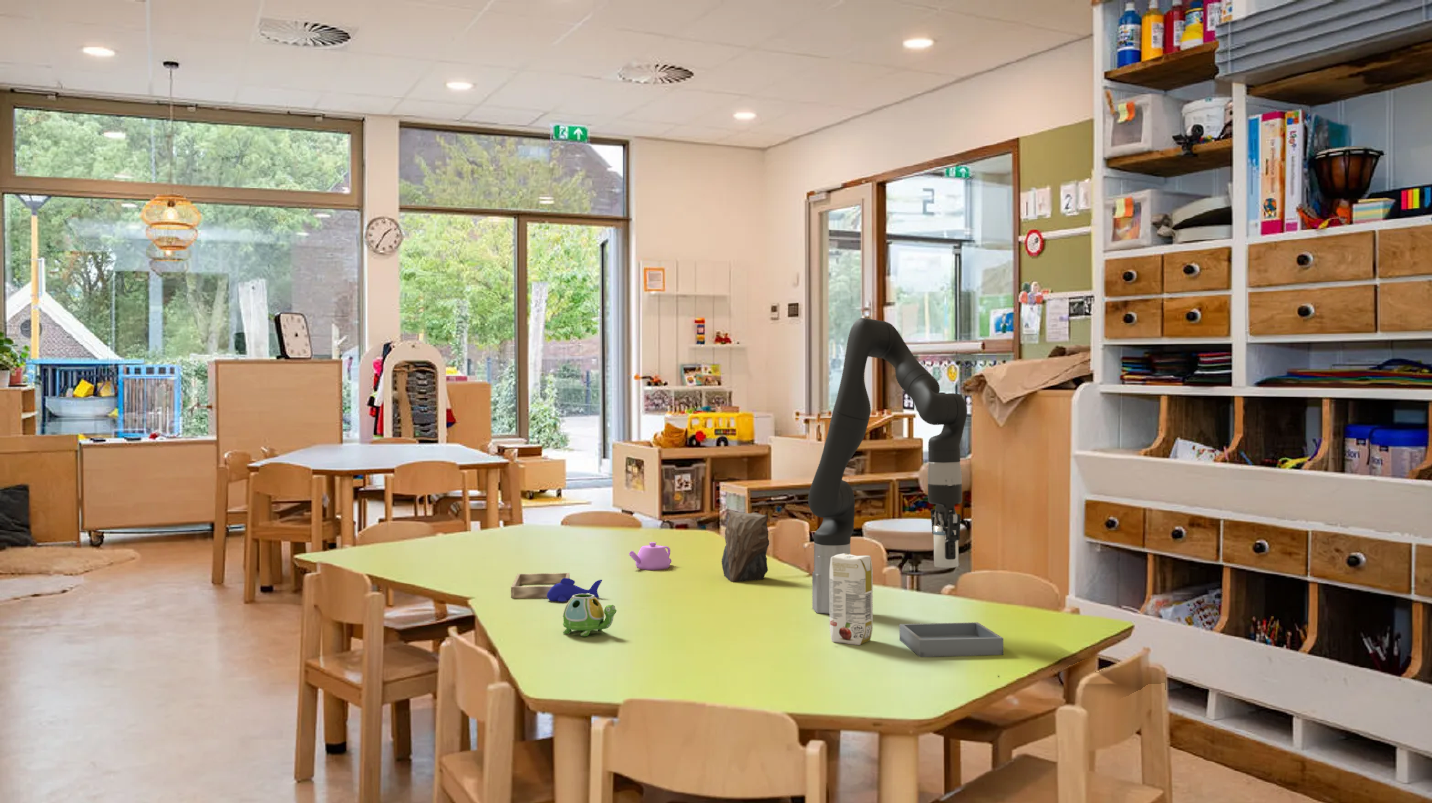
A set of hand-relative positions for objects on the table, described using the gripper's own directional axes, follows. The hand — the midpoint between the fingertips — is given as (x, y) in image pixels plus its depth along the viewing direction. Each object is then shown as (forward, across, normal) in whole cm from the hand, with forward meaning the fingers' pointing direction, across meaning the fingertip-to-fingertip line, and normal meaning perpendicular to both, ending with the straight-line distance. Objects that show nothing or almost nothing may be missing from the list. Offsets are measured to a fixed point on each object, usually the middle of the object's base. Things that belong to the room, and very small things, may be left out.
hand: (946, 557), depth 247 cm
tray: (+18, +8, -2) cm, 20 cm away
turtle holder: (+17, -16, -80) cm, 83 cm away
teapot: (+16, -99, -61) cm, 118 cm away
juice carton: (+18, 0, -22) cm, 29 cm away
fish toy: (+17, -53, -84) cm, 100 cm away
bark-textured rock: (+17, -81, -34) cm, 89 cm away
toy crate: (+16, -66, -93) cm, 115 cm away
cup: (+2, 0, 0) cm, 2 cm away
